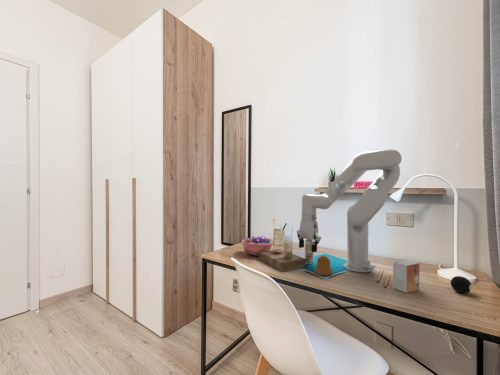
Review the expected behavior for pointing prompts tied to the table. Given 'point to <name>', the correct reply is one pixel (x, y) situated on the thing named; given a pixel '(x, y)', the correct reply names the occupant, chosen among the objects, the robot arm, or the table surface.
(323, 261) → the ornamental finial
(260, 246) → the cell model
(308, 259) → the birch leg
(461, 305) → the table surface
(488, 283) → the table surface
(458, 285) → the billiard ball
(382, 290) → the table surface
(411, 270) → the small box
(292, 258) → the brown block with hole
